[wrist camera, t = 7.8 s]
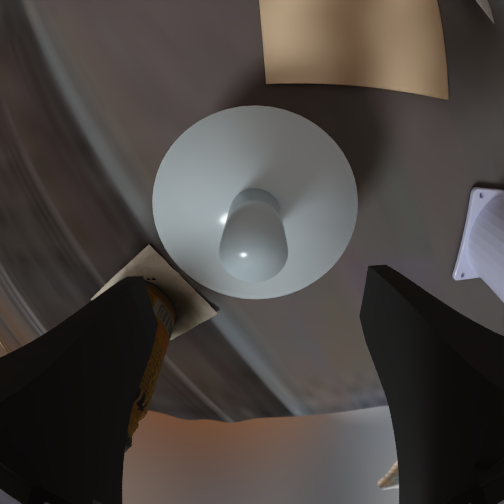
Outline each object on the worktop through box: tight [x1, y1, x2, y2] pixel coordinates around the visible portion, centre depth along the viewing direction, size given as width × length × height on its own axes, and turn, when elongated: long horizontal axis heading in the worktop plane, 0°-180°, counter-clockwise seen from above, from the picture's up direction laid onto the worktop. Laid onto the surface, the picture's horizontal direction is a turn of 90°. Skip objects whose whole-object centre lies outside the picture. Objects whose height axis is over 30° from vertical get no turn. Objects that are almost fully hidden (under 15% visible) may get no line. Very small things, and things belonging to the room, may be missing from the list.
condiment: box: [91, 245, 217, 452], centre depth 17 cm, size 7×8×12 cm
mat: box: [259, 0, 448, 100], centre depth 11 cm, size 12×12×1 cm
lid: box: [152, 105, 358, 299], centre depth 12 cm, size 10×10×5 cm
